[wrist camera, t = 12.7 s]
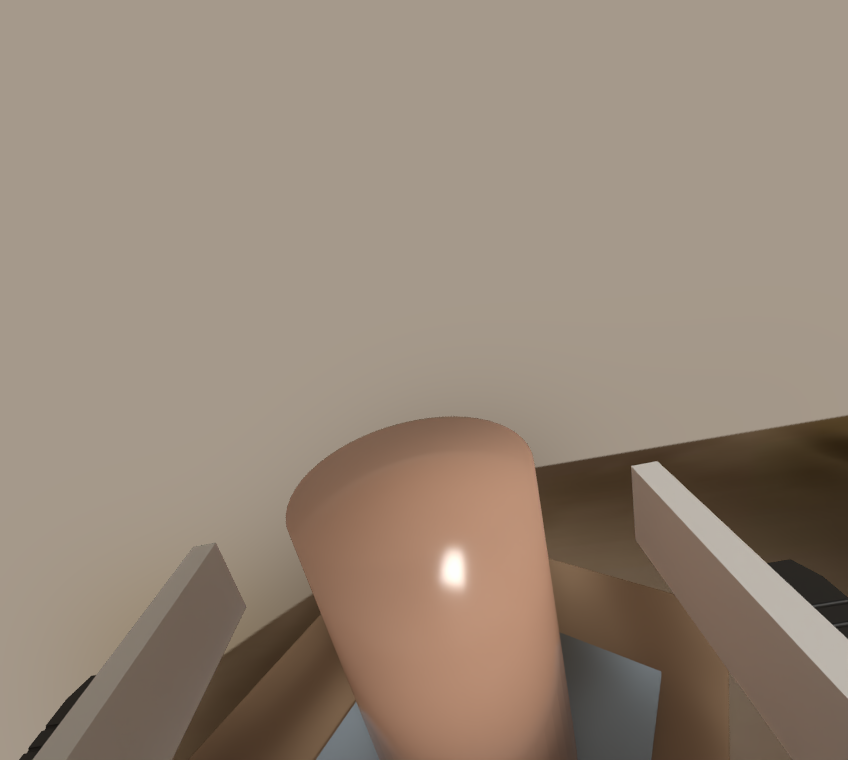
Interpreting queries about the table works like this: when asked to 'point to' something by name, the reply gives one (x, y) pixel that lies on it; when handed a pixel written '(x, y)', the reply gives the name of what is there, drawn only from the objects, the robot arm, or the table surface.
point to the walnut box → (585, 674)
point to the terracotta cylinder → (438, 590)
